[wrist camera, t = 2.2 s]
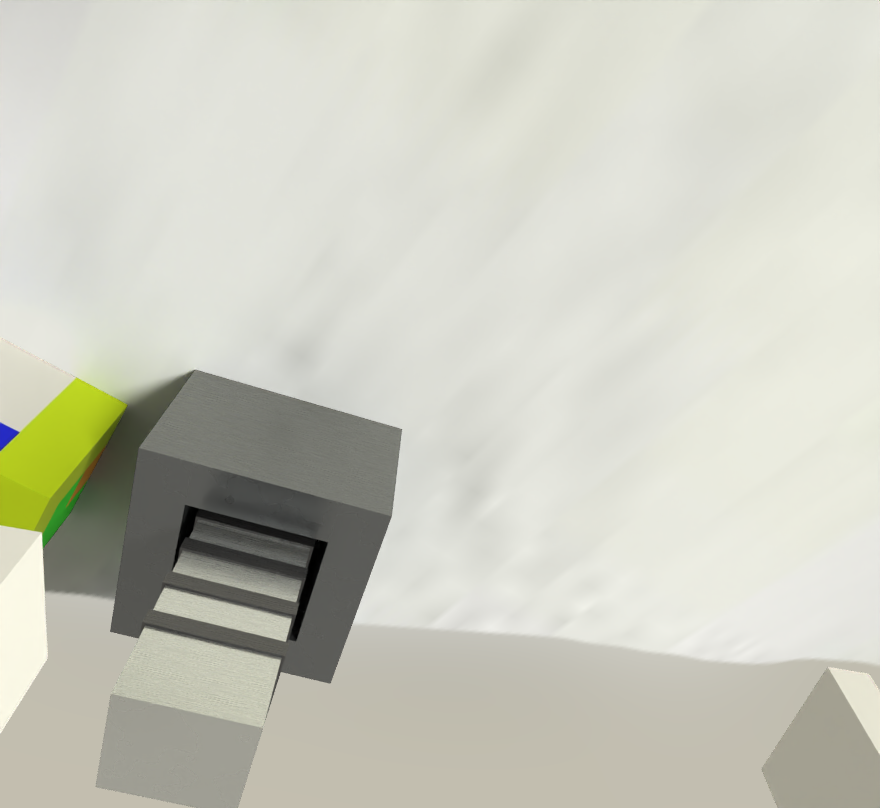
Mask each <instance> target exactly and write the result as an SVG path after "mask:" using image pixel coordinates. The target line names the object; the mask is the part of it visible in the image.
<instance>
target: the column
mask: <svg viewBox="0 0 880 808" xmlns="http://www.w3.org/2000/svg"><path fill="white" fill-rule="evenodd" d="M315 540H316V539H314V538H310V537H306V536H302V535H299V534H295V533H291V532H287V531H283V530H279V529H276V528H272V527H268V526H264V525H260V524H257V523H253V522H249V521H245V520H241V519H238V518H234V517H230V516H226V515H222V514H219V513H215V512H211V511H207V510H203V509H200V510H199V512H198V514H197V516H196V519H195V524H194V529H193V531H192V533H191V535H190V537H189V538H187V537H185V539H184V541H183V543H182V545H181V547H180V551H179V556H178V561H177V563H176V565H175V567H174V569H173V571H168V572H167V574H166V576H165V578H164V580H163V582H162V588H161V593H160V597H159V599H158V601H157V603H156V605H155V607H154V609H153V610H152V609H149V610H148V612H147V614H146V616H145V618H144V620H143V622H142V626H141V632H140V637H139V639H138V641H137V643H136V645H135V647H134V649H133V651H132V653H131V655H130V657H129V659H128V661H127V663H126V665H125V667H124V669H123V671H122V673H121V675H120V677H119V679H118V681H117V683H116V685H115V687H114V689H113V691H112V693H111V696H110V702H109V708H108V715H107V721H106V727H105V733H104V739H103V745H102V751H101V757H100V763H99V769H98V776H97V781H96V787H98V788H103V789H108V790H113V791H118V792H123V793H128V794H132V795H137V796H142V797H147V798H152V799H157V800H161V801H166V802H171V803H176V804H181V805H186V806H190V807H196V808H238V805H239V802H240V799H241V796H242V793H243V790H244V787H245V783H246V780H247V777H248V774H249V771H250V768H251V764H252V761H253V758H254V755H255V752H256V749H257V746H258V742H259V739H260V736H261V733H262V730H263V726H264V723H265V720H266V717H267V713H268V710H269V707H270V704H271V701H272V698H273V695H274V691H275V688H276V685H277V682H278V679H279V676H280V672H281V669H282V666H283V663H284V660H285V657H286V653H287V649H288V645H289V642H288V640H289V637H290V633H291V630H292V627H293V624H294V621H295V618H296V614H297V610H298V606H299V603H298V602H299V598H300V595H301V592H302V589H303V586H304V582H305V579H306V575H307V571H308V568H307V567H308V564H309V561H310V558H311V554H312V551H313V548H314V544H315Z"/></svg>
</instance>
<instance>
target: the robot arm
mask: <svg viewBox="0 0 880 808" xmlns="http://www.w3.org/2000/svg"><path fill="white" fill-rule="evenodd" d="M47 652H48V651H47V630H46V609H45V588H44V567H43V546H42V532H36V531H30V530H25V529H19V528H13V527H7V526H1V525H0V733H1V731H2V730H3V728H4V727H5V725H6V724H7V722H8V720H9V719H10V717H11V716H12V714H13V712H14V711H15V709H16V708H17V706H18V704H19V703H20V701H21V700H22V698H23V697H24V695H25V693H26V692H27V690H28V688H29V687H30V685H31V684H32V682H33V681H34V679H35V677H36V676H37V674H38V673H39V671H40V670H41V668H42V666H43V665H44V663H45V662H46V660H47V658H48V653H47ZM762 772H763V774H764V777H765V779H766V781H767V784H768V786H769V788H770V791H771V793H772V796H773V798H774V800H775V803H776V805H777V807H778V808H880V690H879V689H878V687H877V686H876V684H875V682H874V681H873V679H872V678H871V676H870V675H869V674H866V673H861V672H855V671H849V670H843V669H837V668H831V667H827V669H826V670H825V672H824V673H823V675H822V676H821V678H820V680H819V681H818V683H817V684H816V686H815V687H814V689H813V691H812V692H811V693H810V695H809V697H808V698H807V700H806V701H805V703H804V704H803V706H802V707H801V709H800V710H799V712H798V713H797V715H796V717H795V718H794V720H793V721H792V723H791V724H790V726H789V727H788V729H787V730H786V732H785V734H784V735H783V737H782V738H781V740H780V741H779V743H778V744H777V746H776V747H775V749H774V750H773V752H772V754H771V755H770V757H769V758H768V760H767V761H766V763H765V764H764V766H763V768H762Z"/></svg>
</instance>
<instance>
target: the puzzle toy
mask: <svg viewBox="0 0 880 808" xmlns="http://www.w3.org/2000/svg"><path fill="white" fill-rule="evenodd" d="M127 406H128V405H127V404H125V403H123V402H121V401H120V400H118V399H116V398H114V397H112V396H110V395H108V394H106V393H104V392H103V391H101V390H99V389H97V388H95V387H93V386H91V385H89V384H88V383H86V382H84V381H82V380H80V379H78V378H76V377H74V376H72V375H71V374H69V373H67V372H65V371H63V370H61V369H59V368H57V367H56V366H54V365H52V364H50V363H48V362H46V361H44V360H42V359H40V358H39V357H37V356H35V355H33V354H31V353H29V352H27V351H25V350H24V349H22V348H20V347H18V346H16V345H14V344H12V343H10V342H8V341H7V340H5V339H3V338H1V337H0V525H1V526H7V527H13V528H19V529H25V530H30V531H36V532H42V546H43V548H44V547H45V545H46V544H47V543H48V541H49V540H50V539H51V537H52V536H53V535H54V534H55V532H56V531H57V530H58V528H59V527H60V526H61V524H62V523H63V522H64V521H65V519H66V518H67V517H68V515H69V514H70V512H71V511H72V509H73V507H74V505H75V503H76V501H77V499H78V498H79V496H80V494H81V492H82V490H83V488H84V486H85V484H86V483H87V481H88V479H89V477H90V475H91V473H92V471H93V469H94V468H95V466H96V464H97V462H98V460H99V458H100V456H101V454H102V453H103V451H104V449H105V447H106V445H107V443H108V441H109V440H110V438H111V436H112V434H113V432H114V430H115V428H116V426H117V425H118V423H119V421H120V419H121V417H122V415H123V413H124V411H125V410H126V408H127Z"/></svg>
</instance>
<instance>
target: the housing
mask: <svg viewBox="0 0 880 808" xmlns="http://www.w3.org/2000/svg"><path fill="white" fill-rule="evenodd" d="M401 433H402V429H399V428H395V427H392V426H389V425H385V424H382V423H378V422H375V421H371V420H368V419H364V418H361V417H357V416H354V415H350V414H347V413H343V412H340V411H336V410H333V409H330V408H326V407H323V406H319V405H316V404H312V403H309V402H305V401H302V400H298V399H295V398H291V397H288V396H284V395H281V394H278V393H274V392H271V391H267V390H264V389H260V388H257V387H253V386H250V385H246V384H243V383H239V382H236V381H232V380H229V379H226V378H222V377H219V376H215V375H212V374H208V373H205V372H201V371H198V370H195V371H194V372H193V373H192V375H191V376H190V378H189V379H188V380H187V382H186V383H185V385H184V386H183V387H182V389H181V390H180V391H179V393H178V394H177V396H176V397H175V398H174V400H173V401H172V402H171V404H170V405H169V407H168V408H167V409H166V411H165V412H164V414H163V415H162V416H161V418H160V419H159V420H158V422H157V423H156V425H155V426H154V427H153V429H152V430H151V431H150V433H149V434H148V436H147V437H146V438H145V440H144V441H143V443H142V444H141V445H140V447H139V449H138V455H137V462H136V468H135V475H134V481H133V488H132V494H131V501H130V507H129V513H128V520H127V526H126V533H125V539H124V546H123V552H122V559H121V565H120V572H119V578H118V584H117V591H116V597H115V604H114V610H113V611H114V612H113V617H112V623H111V630H110V632H114V633H118V634H122V635H127V636H131V637H135V638H139V637H140V632H141V626H142V622H143V620H144V618H145V616H146V614H147V612H148V610H149V609H152V610H153V609H154V607H155V605H156V603H157V601H158V599H159V597H160V593H161V588H162V582H163V580H164V578H165V576H166V574H167V572H168V571H173V569H174V567H175V565H176V563H177V561H178V556H179V551H180V547H181V545H182V543H183V541H184V539H185V537H187V538H189V537H190V535H191V533H192V531H193V529H194V524H195V519H196V516H197V514H198V512H199V510H200V509H203V510H207V511H211V512H215V513H219V514H222V515H226V516H230V517H234V518H238V519H241V520H245V521H249V522H253V523H257V524H260V525H264V526H268V527H272V528H276V529H279V530H283V531H287V532H291V533H295V534H299V535H302V536H306V537H310V538H314V539H318V540H321V542H319V541H315V544H314V548H313V551H312V554H311V558H310V561H309V564H308V567H307V568H308V571H307V575H306V579H305V582H304V586H303V589H302V592H301V595H300V598H299V602H298V603H299V606H298V610H297V614H296V618H295V621H294V624H293V627H292V630H291V633H290V637H289V640H288V642H289V645H288V649H287V653H286V657H285V660H284V663H283V666H282V669H281V672H284V673H288V674H292V675H297V676H301V677H305V678H309V679H313V680H318V681H322V682H326V683H331V680H332V678H333V675H334V672H335V669H336V667H337V664H338V661H339V658H340V656H341V653H342V650H343V648H344V645H345V642H346V639H347V637H348V634H349V631H350V629H351V626H352V623H353V620H354V618H355V615H356V612H357V610H358V607H359V604H360V601H361V599H362V596H363V593H364V590H365V588H366V585H367V582H368V580H369V577H370V574H371V571H372V569H373V566H374V563H375V560H376V558H377V555H378V552H379V550H380V547H381V544H382V541H383V539H384V536H385V533H386V530H387V528H388V525H389V522H390V520H391V517H392V509H393V501H394V492H395V484H396V475H397V467H398V458H399V450H400V441H401Z"/></svg>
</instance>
